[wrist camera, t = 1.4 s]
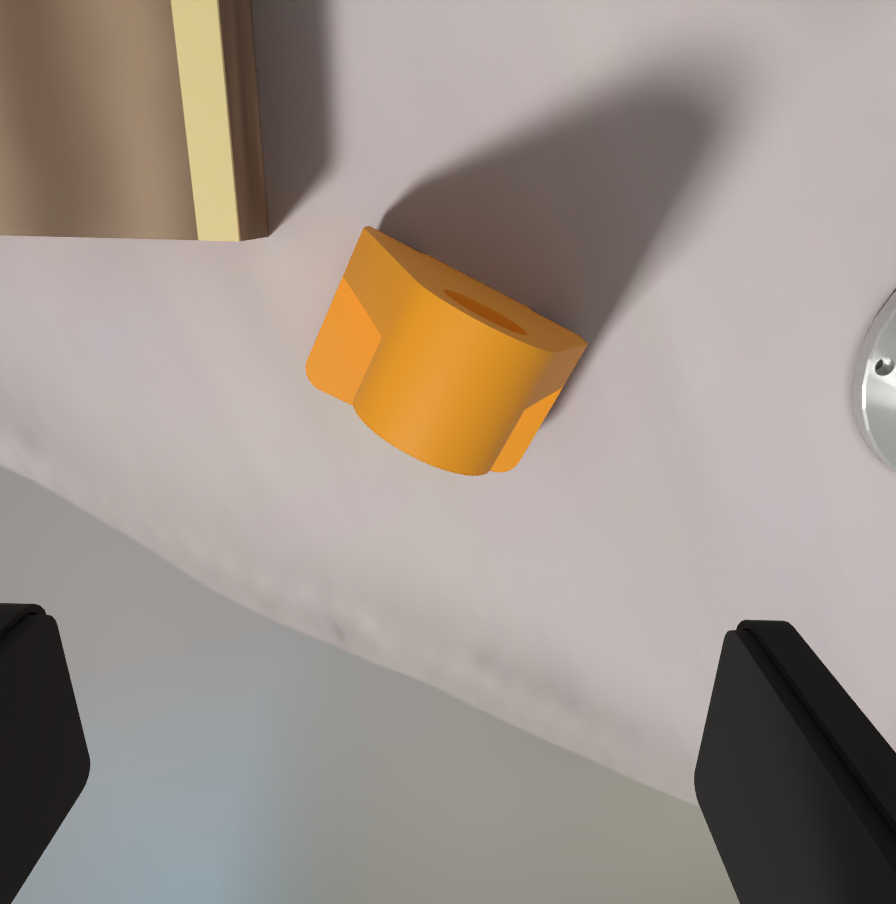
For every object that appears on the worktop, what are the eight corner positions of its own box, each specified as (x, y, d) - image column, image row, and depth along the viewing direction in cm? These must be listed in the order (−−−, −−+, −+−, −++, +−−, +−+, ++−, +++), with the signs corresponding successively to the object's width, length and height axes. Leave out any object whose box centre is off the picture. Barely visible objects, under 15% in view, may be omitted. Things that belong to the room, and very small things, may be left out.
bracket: (311, 365, 31) (229, 456, 20) (371, 225, 29) (316, 238, 17) (504, 458, 33) (529, 590, 21) (577, 332, 30) (648, 407, 19)
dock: (238, -160, 24) (195, -232, 20) (268, 236, 29) (239, 241, 25) (-135, -168, 24) (-252, -241, 20) (-38, 228, 29) (-117, 232, 25)
